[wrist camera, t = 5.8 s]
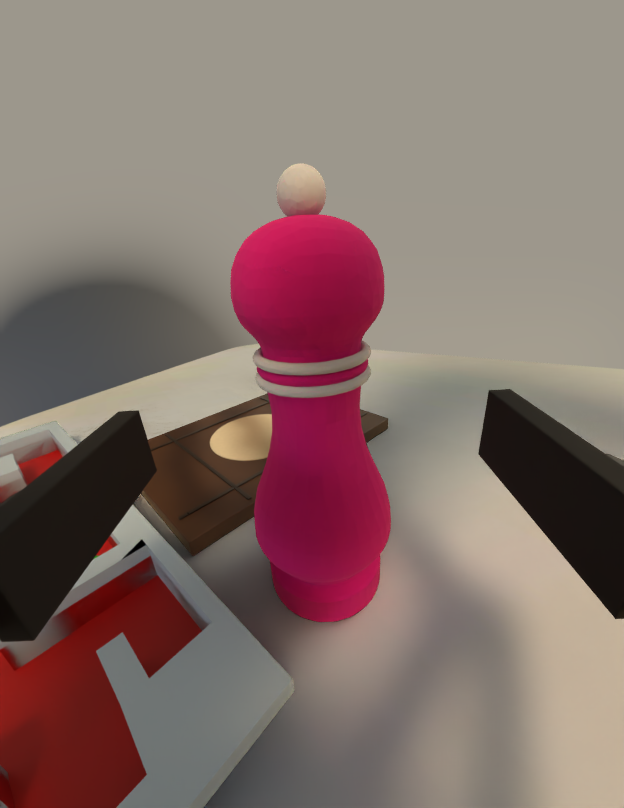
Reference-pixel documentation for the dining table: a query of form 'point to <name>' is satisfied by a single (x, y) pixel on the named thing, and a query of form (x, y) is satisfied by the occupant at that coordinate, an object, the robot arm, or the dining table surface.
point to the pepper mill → (314, 400)
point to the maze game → (127, 674)
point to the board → (217, 470)
